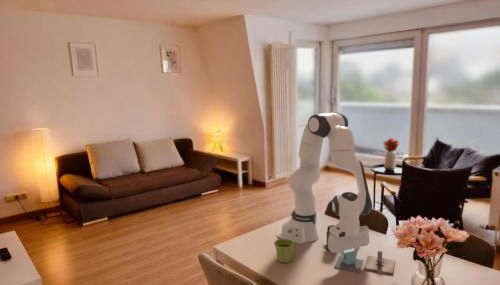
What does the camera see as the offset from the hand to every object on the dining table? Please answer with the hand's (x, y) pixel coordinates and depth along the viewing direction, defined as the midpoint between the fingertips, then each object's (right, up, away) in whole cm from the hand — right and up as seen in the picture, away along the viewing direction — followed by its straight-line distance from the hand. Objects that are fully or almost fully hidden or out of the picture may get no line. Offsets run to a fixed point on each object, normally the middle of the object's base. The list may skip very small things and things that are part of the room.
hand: (348, 256), depth 161 cm
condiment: (-5, -2, +16) cm, 17 cm away
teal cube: (0, -2, +1) cm, 3 cm away
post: (+14, -4, -1) cm, 14 cm away
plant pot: (-29, -4, +7) cm, 30 cm away
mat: (0, -4, +1) cm, 4 cm away
